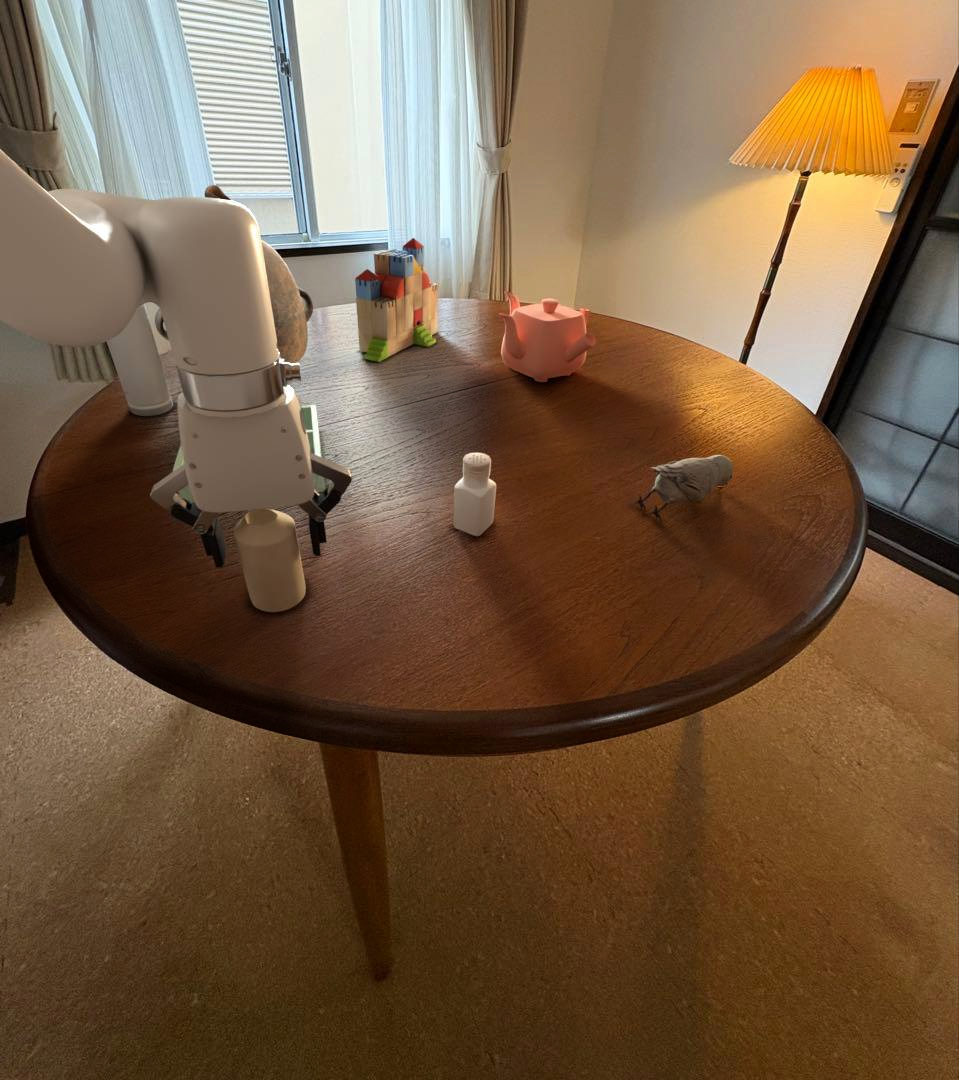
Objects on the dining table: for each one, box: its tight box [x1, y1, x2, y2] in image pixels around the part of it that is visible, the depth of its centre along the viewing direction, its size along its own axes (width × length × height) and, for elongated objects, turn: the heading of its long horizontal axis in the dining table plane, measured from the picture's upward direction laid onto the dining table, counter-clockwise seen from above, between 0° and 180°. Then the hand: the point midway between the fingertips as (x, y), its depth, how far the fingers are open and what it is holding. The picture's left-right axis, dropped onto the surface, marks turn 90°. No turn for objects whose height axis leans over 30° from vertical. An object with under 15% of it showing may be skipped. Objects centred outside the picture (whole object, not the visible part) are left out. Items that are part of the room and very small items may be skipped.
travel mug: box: [106, 304, 174, 417], centre depth 84 cm, size 6×7×20 cm
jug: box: [154, 184, 314, 364], centre depth 93 cm, size 24×21×30 cm
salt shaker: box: [452, 452, 497, 537], centre depth 67 cm, size 4×4×10 cm
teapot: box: [498, 290, 597, 383], centre depth 110 cm, size 18×18×14 cm
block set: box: [354, 237, 439, 363], centre depth 118 cm, size 28×14×19 cm, turn 155°
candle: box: [233, 508, 307, 613], centre depth 55 cm, size 6×6×10 cm
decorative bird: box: [633, 454, 734, 522], centre depth 75 cm, size 5×16×8 cm, turn 122°
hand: (270, 552), depth 55 cm, fingers open, 8 cm apart
